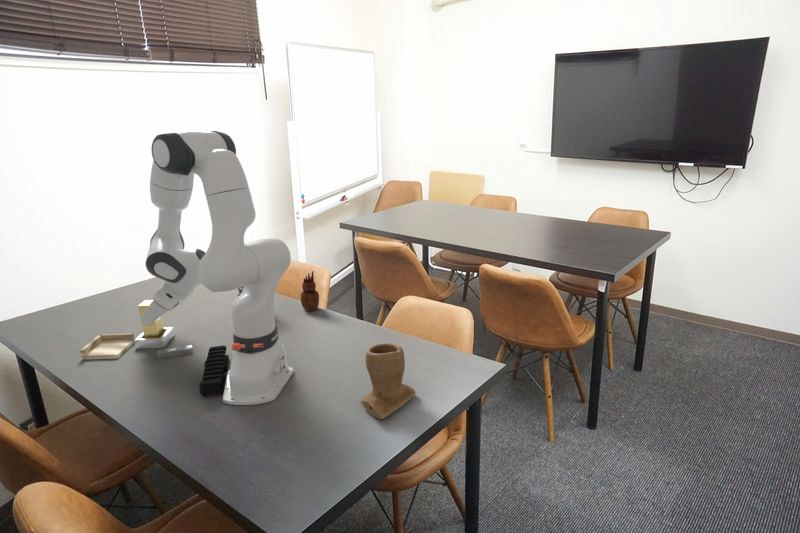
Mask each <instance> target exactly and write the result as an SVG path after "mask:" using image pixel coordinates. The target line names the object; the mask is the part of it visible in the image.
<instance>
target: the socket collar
mask: <svg viewBox="0 0 800 533" xmlns="http://www.w3.org/2000/svg"><path fill="white" fill-rule="evenodd" d="M163 328H164V334H163V335H162V336H161V337H160V338H145V337H144V332H141V333H140V334H139V335H138V336H137V337H136V338H135V343H134V345H135V349H160V348H162V349H163V348H165V347H166V346H167V345H168V344H169V343H170V342H171V340H172V339H173V338H174V337H175V335H176V333H175V330H174V327H173V326H172V327H171V326H168V327H163Z"/></svg>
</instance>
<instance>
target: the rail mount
mask: <svg viewBox="0 0 800 533" xmlns="http://www.w3.org/2000/svg"><path fill="white" fill-rule="evenodd" d="M207 352H208V353H207V358H206V360H205V361H204V363H203V364H204V366H203V367H204V371H203V373H202V379H201V381H200V382H199V384H198V385H199V387H198V388H199V394H200V396H202V397H204V398H205V397H207V396H213V395H220V394H223V393H224V389H225V383H226V378H227V374H224V373H228V371H229V366H230V365H229V364H230V363H229V362H230V355H229V354H227V346H226V345H223V344H222V345H217V346H216V345H215V346H210V347H209V349H208V351H207Z"/></svg>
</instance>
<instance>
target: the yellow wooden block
mask: <svg viewBox="0 0 800 533" xmlns="http://www.w3.org/2000/svg"><path fill="white" fill-rule="evenodd" d="M152 301H153V299H147V300H145V299H144V300H143V301H142V302H141V303H139V305H137V308H138V312H139V316H140V317H139V318H140V322H141V326H142V331H143V332H144V337H145V338H160V337H161V336H162V335H163V334H164V328H165V327H164V324H163V318H162V316H161V317H160V318H159V319H158V320H157V321H156V322H154V323H153V324H152V325H150V326H149V325H148V326H145V325H144V324H143V321H142V320H141V317H142V315H143V313H144V312H145V311H146V309H147V308H148V306H149V305H150V304H151V302H152ZM143 332H142V333H143Z"/></svg>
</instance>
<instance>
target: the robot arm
mask: <svg viewBox="0 0 800 533" xmlns="http://www.w3.org/2000/svg"><path fill="white" fill-rule="evenodd" d="M151 155H152V159H153V160H152V164H151V169H150V170H151V171H150V177H149V178H150V179H149V194H150V201H151V203H152V205H154V206H155V207H156V208H158V209H159V210H158V224H157V228H156V231H155V232H154V234H153V235H152V236H151V238H150V240H149V241H150V242H149V248H148V252H147V256H146V258H145V259H146V260H145V268H146V270H147V271H148V273H149V274H150V275H152V276H154V277H155V278H158V279H161V280H162V281H163V282H162V284H160V286H159V287H158V290H157V292H156V293H155V294H154V296H153V297H152V300H153V301H152V302H151V304H150V305H149V306H148V308H147V309H146V311H145V312H144V313H143V315H142V317H141V318H140V321H141V320H142V321H143V324H144V325H145V326H148V325H149V326H150V325H152V324H153V323H154V322H156V321H157V320H158V319H159V318H160V317H161V318H162V316H163V315H165V314H166V313H167V312H170V311H171V310H173V309H174V308H176V307H179V306H181V305H183V304H185V302H186V301H187V300H188V299H189V297H190V296H192V294H193V293H194V291H195V289H196V288H197V287H199V286H200V285H202V286H203V287H204V288H205V289H207V290H208V291H210V293H223V292H230V291H231V292H232V291H234V290H238V288H241V287H244V286H245V287H244V289H243V291H242V293H241V294H240V295H239V296H238V295H237V296H238V297H237V298H236V299H235V300H234V301H233V302H232V305H231V316H232V318H231V319H232V324H233V325H232V326H233V334H232V344H231V351H232V352H231V359H230V365H229V369H228V372H226V373H227V374H226V383H225V389H224V393H223V395H222V403H225V404H227V405H232V406H253V405H260V404H261V405H262V404H265V403H269V402H272V401H274V400H276V399H277V397H278V396H279V395H280V393H281V391H282V390H283V389H284V387H285V386H286V384H287V383H288V381H289V380H290V379H291V377H292V375H294V368H293V367H291V366H288V360H287V355H286V349H285V346H284V344H282V343H281V342H280V341H279V331H278V330H279V329H278V326H277V325H276V321H275V319H276V318H275V309H274V308H275V306H274V304H275V303H274V300H275V295H276V293H277V292H276V291H277V288H278V285H279V283H280V280H281V278H282V276H284V273H285V272H287V270H288V269H289V268H290V266H291V260H292V255H291V252H290V249H289V247H288V245H287V244H286V243H285V242H284V241H283V240H281V239H280V238H261V239H256V240H253V241H249V242H245V233H246V231H247V229H248V228H249V227H251V226H252V225H253V223H254V222H255V219H256V215H257V214H256V209H255V206H254V203H253V202H254V201H253V198H252V195H251V191H250V186H249V183H248V179H247V176H246V173H245V171H244V169H243V166H242V164H241V161H240V160H239V157H238V156H237V149H236V144H235V142H234V140H233V138H232V137H231V136H230V135H228V134H227V133H226V132H223V131H222V132H221V131H218V130H217V131H216V130H212V131H208V130H196V129H184V130H176V131H174V130H173V131H172V130H170V131H164V132H161V133H159V134H157V135H156V136H155V137H153V140H152V143H151ZM195 175H197V176H198V177H199V179H200V180H201V183H202V186H203V187H202V188H203V192H204V195H205V199H206V202H207V206H208V211H209V216H210V220H211V228H212V229H211V238H210V243H209V245H208V248H207V250H206V252H205V251H204V250H202V249H199V248H195V249H185V240H184V238H183V235H182V233H181V220H182V211H184V210H186V209H187V208H188V207H189V204H190V202H191V198H192V193H193V189H194V181H195V180H194V177H195Z"/></svg>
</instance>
